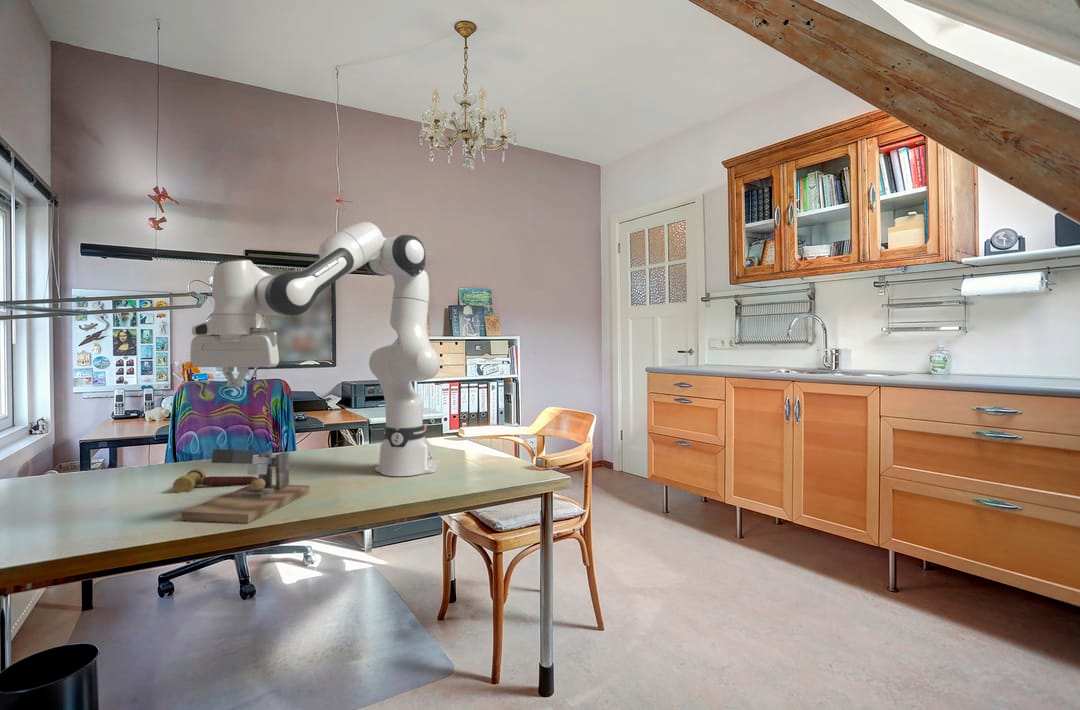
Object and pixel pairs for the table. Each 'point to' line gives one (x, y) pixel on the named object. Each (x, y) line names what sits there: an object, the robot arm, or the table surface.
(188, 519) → the nutcracker base
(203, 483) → the gavel
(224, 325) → the robot arm
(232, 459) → the lever
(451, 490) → the table surface
